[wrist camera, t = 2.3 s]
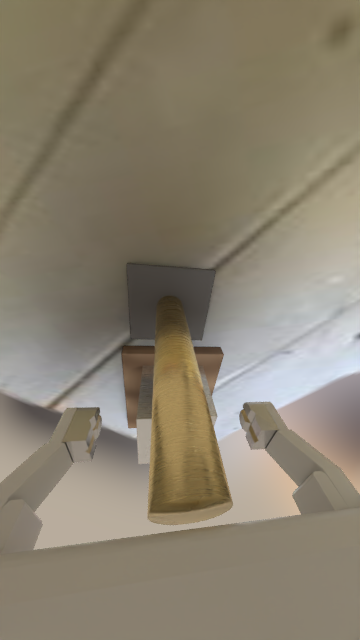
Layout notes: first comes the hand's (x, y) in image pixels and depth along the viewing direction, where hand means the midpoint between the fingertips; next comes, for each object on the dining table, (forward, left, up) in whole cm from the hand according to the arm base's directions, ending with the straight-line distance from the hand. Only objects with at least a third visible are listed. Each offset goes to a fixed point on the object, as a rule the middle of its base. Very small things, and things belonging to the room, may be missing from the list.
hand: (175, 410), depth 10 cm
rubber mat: (-1, 0, -12) cm, 12 cm away
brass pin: (-1, 0, -12) cm, 12 cm away
